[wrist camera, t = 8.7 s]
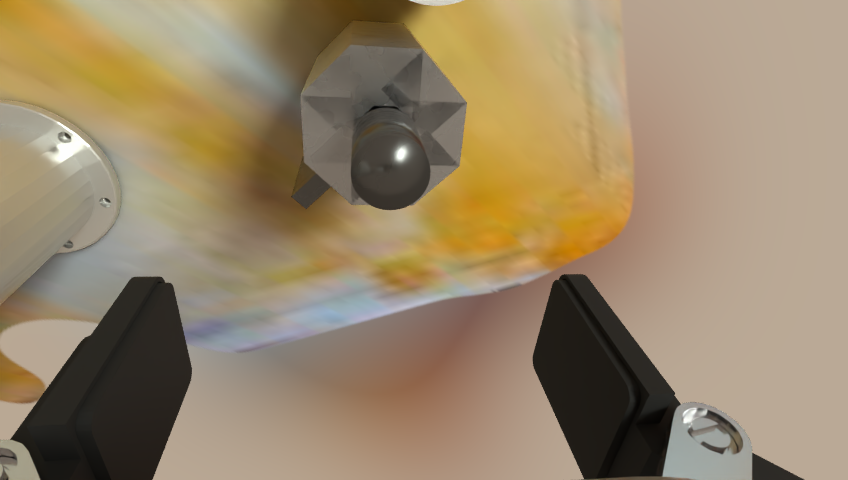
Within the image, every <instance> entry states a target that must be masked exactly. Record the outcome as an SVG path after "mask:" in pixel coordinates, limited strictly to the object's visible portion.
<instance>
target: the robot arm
mask: <svg viewBox="0 0 848 480" xmlns="http://www.w3.org/2000/svg"><path fill="white" fill-rule="evenodd" d="M68 134H69V135H70V136H69V135H68ZM120 206H121V189H120V186H119V182H118V178H117V175H116V173H115V171H114V169H113V167H112V165H111V163H110V161H109V160H108V158H107V157H106V156H105V154H104V153H103V151H102V150H101V149H100V148H99V147H98V146H97V145H96V143H95V142H94V141H93V140H92V139H91V138H90V137H89V136H88V135H86V134H85V133H84V132H83V131H81V130H80V129H79V128H77V127H76V126H75V125H74V124H72V123H70V122H69V121H67V120H65V119H63V118H62V117H60V116H58V115H57V114H55V113H52V112H50V111H47V110H45V109H43V108H40V107H38V106H34V105H30V104H27V103H23V102H19V101H11V100H1V99H0V305H1V304H2V303H3V302H4V301H5V300H6V299H7V298H8V297H10V296H11V295H12V294H13V293H14V292H15V291H16V290H17V289H18V288H19V287H20V286H21V285H22V284H23V283H24V282H25V281H26V280H27V279H28V278H29V277H30V276H32V275H33V274H34V273H35V272H36V271H37V270H38V269H39V268H40V267H41V266H42V265H43V264H44V263H45V262H46V261H47V260H48V259H49V258H50V257H51V256H52V255H54V254H56V253H66V252H72V251H76V250H80V249H83V248H85V247H87V246H89V245H91V244H93V243H95V242H96V241H98V240H99V239H100V238H101V237H103V236H104V235H105V234H106V233H107V232H108V230H109V229H110V228H111V227H112V226H113V224H114V222H115V220H116V219H117V217H118V215H119V210H120ZM533 366H534V369H535V371H536V374H537V376H538V378H539V380H540V382H541V385H542V387H543V389H544V391H545V394H546V396H547V398H548V400H549V402H550V404H551V407H552V409H553V411H554V413H555V416H556V418H557V420H558V422H559V424H560V427H561V429H562V431H563V433H564V435H565V438H566V440H567V442H568V444H569V446H570V449H571V451H572V453H573V455H574V458H575V460H576V462H577V464H578V466H579V469H580V471H581V473H582V475H583V477H584V479H583V480H804V479H802V478H800V477H798V476H796V475H794V474H792V473H790V472H788V471H786V470H784V469H783V468H781V467H779V466H777V465H774V464H773V463H771V462H769V461H767V460H765V459H763V458H761V457H759V456H757V455H755V454H754V453H752V446H751V442H750V439H749V437H748V435H747V434H746V432H745V430H744V429H743V428H742V427H741V426H740V425H739V424H738V423H737V422H736V421H735V420H734V419H732V418H731V417H730V416H728V415H727V414H726V413H724V412H722V411H720V410H718V409H717V408H715V407H712V406H709V405H706V404H703V403H697V402H688V403H683V404H680V403H679V401H678V400H677V399H676V397H675V396H674V395H675V392H674V391H673V390H672V388H671V387H670V386H669V385H668V383H667V382H666V380H665V379H664V378H663V377H662V375H661V374H660V373H659V371H658V370H657V369H656V367H655V366H654V365H653V364H652V362H651V361H650V359H649V358H648V357H647V355H646V354H645V353H644V351H643V350H642V349H641V348H640V346H639V345H638V343H637V342H636V341H635V340H634V338H633V337H632V336H631V334H630V333H629V332H628V330H627V329H626V328H625V326H624V325H623V324H622V322H621V321H620V320H619V318H618V317H617V316H616V315H615V313H614V312H613V311H612V309H611V308H610V306H608V304H607V302H606V301H605V300H604V299H603V297H602V296H601V295H600V293H599V292H598V291H597V289H596V288H595V287H594V285H593V284H592V283H591V281H590V280H589V279H588V277H587V276H585V275H583V274H570V275H569V274H568V275H567V274H566V275H565V274H564V275H562V276H561V277H560V278H559V280H555V281H554V282H553V285H552V288H551V292H550V296H549V299H548V303H547V306H546V310H545V314H544V317H543V321H542V325H541V328H540V332H539V336H538V339H537V343H536V346H535V350H534V354H533ZM191 374H192V368H191V363H190V358H189V354H188V350H187V345H186V340H185V336H184V332H183V327H182V323H181V319H180V314H179V310H178V305H177V301H176V297H175V292H174V288H173V285H172V284H171V283H165V281H164V279H163V278H162V277H133V278H131V280H130V281H129V282H128V283H127V285H126V286H125V288H124V289H123V291H122V292H121V293H120V295H119V296H118V298H117V299H116V300H115V302H114V303H113V305H112V306H111V308H110V309H109V310H108V312H107V313H106V315H105V316H104V317H103V319H102V320H101V322H100V323H99V325H98V326H97V327H96V329H95V330H94V332H93V333H92V334H91V335H90V336H88V337H86V338H84V339H83V340H82V341H81V342H80V344H79V345H78V346H77V348H76V349H75V351H74V352H73V353H72V355H71V356H70V358H69V359H68V360H67V362H66V363H65V364H64V366H63V367H62V369H61V370H60V371H59V373H58V374H57V375H56V377H55V378H54V380H53V381H52V382H51V384H50V385H49V387H48V388H47V389H46V391H45V392H44V393H43V395H42V396H41V398H40V399H39V400H38V402H37V403H36V405H35V406H34V407H33V409H32V410H31V412H30V413H29V414H28V416H27V417H26V418H25V420H24V421H23V423H22V424H21V425H20V427H19V428H18V430H17V431H16V432H15V434H14V435H13V437H12V438H11V439H10V440H0V480H152V479H153V477H154V474H155V471H156V469H157V466H158V464H159V461H160V459H161V456H162V454H163V451H164V448H165V445H166V443H167V441H168V437H169V436H170V433H171V430H172V428H173V425H174V423H175V420H176V417H177V415H178V412H179V410H180V407H181V405H182V402H183V399H184V397H185V394H186V392H187V389H188V386H189V384H190V381H191Z"/></svg>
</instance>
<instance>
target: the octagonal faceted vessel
mask: <svg viewBox="0 0 848 480" xmlns="http://www.w3.org/2000/svg"><path fill="white" fill-rule="evenodd" d="M300 102H301V118H302V135H303V151H304V156H303V158H302V162H301V165H300V168H299V172H298V175H297V179H296V182H295V186H294V189H293V193H292V196H291V197H292V198H294V199H295V200H296V201H297V202H298V203H300V204H301V205H302V206H303V207H304V208H306V209H307V208H308V207H309V206H310V205H311V204H312V203H313V202H314V201H315V200H317V199H318V198H319V197H320V196H321V195H322V194H323V193H324V192H325V191H326V190H328V189H329V188H330V187H332V188H333V189H335V190H336V191H337V192H338V193H339V194H340V195H341V196H342V197H343V198H345V199H346V200H347V201H348V202H349V203H350V204H351V205H369V204H368V203H366V202H365V201H364V200H362V199H361V198H360V196H359V195H358V194H357V193H356V191H355V189H354V187H353V184H352V181H351V149H352V134H353V130H354V128H355V126H356V124H357V122H358V121H359V120H360V119H361V118H362V117H363V116H364V115H365V114H366V113H368V112H370V111H372V107H373V106H390V108H393V109H397V110H399V111H401V112H403V113H405V114H406V115H407V116H409V117H410V118H411V119H412V121H413V122H414V124H415V125H416V127H417V130H418V132H419V135H420V138H421V141H422V144H423V146H424V149H425V152H426V155H427V158H428V160H429V164H430V170H431V173H430V181H429V184H428V186H427V189H426V190H425V192H424V193H423V195H422V196H421V197H420V198H419V199H418V200H417V201H419V200H420V199H421V198H422V197H423V196H424V195H426V194H427V193H428V192H429V191H430V190H432V189H433V188H434V187H435V186H436V185H438V184H439V183H440V182H441V181H442V180H443V179H445V178H446V177H447V176H448V175H449V174H451V173H452V172H453V171H454V170H455V169H457V168H458V167H459V165H460V157H461V148H462V140H463V131H464V123H465V114H466V106H467V102H466V101H465V100H464V98H463V97H462V96H461V95H460V93H459V92H458V91H457V90H456V88H455V87H454V86H453V84H452V83H451V82H450V81H449V79H448V78H447V77H446V75H445V74H444V73H443V72H442V70H441V69H440V68H439V66H438V65H437V64H436V63H435V61H434V60H433V59H432V58H431V57H430V55H429V54H428V53H427V52H426V50H425V49H424V48H423V47H422V45H421V44H420V43H419V42H418V41H417V39H416V38H415V37H414V36H413V34H412V33H411V32H410V31H409V29H408V28H407V27H406V26H405V25H404V24H402V23H387V22H372V21H357V20H352V21H351V22H350V24H349V25H348V26H347V27H346V28H345V29H344V30H343V31H342V32H341V33H340V34H339V35H338V36H337V37H336V38H335V39H334V40H333V41H332V42H331V43H330V44H329V45H328V46H327V47H326V48H325V49H324V50H323V51H322V52H321V53H320V54H319V55H318V56H317V58H316V61H315V63H314V65H313V67H312V70H311V72H310V74H309V76H308V79H307V81H306V83H305V86H304V88H303V90H302V92H301V95H300ZM417 201H415V202H414V203H413V204H411V205H414V204H415V203H416V202H417Z"/></svg>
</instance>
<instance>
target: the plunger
mask: <svg viewBox="0 0 848 480" xmlns="http://www.w3.org/2000/svg"><path fill="white" fill-rule="evenodd" d="M430 173H431V170H430V164H429V160H428V158H427V155H426V152H425V149H424V146H423V144H422V141H421V138H420V135H419V132H418V130H417V127H416V125H415V124H414V122H413V121H412V119H411V118H410V117H409V116H407V115H406V114H405V113H403V112H401V111H399V110H397V109H393V108H390V106H373V107H372V111H370V112H368V113H366V114H365V115H364V116H363V117H362V118H361V119H360V120H359V121H358V122H357V124H356V126H355V128H354V130H353V134H352V149H351V181H352V184H353V187H354V189H355V191H356V193H357V194H358V195H359V196H360V198H361V199H362V200H364V201H365V202H366V203H368V204H369V205H371V206H373V207H376V208H379V209H384V210H396V209H401V208H404V207H407V206H409V205H411V204H413V203H414V202H415V201H417V200H418V199H419V198H420V197H421V196H422V195H423V193H424V192H425V190H426V189H427V186H428V184H429V181H430Z"/></svg>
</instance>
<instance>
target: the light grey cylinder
mask: <svg viewBox="0 0 848 480" xmlns="http://www.w3.org/2000/svg"><path fill="white" fill-rule="evenodd" d="M410 1H413V2H416V3H420V4H424V5H434V6H438V5H449V4H453V3H457V2H460V1H463V0H410Z"/></svg>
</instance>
